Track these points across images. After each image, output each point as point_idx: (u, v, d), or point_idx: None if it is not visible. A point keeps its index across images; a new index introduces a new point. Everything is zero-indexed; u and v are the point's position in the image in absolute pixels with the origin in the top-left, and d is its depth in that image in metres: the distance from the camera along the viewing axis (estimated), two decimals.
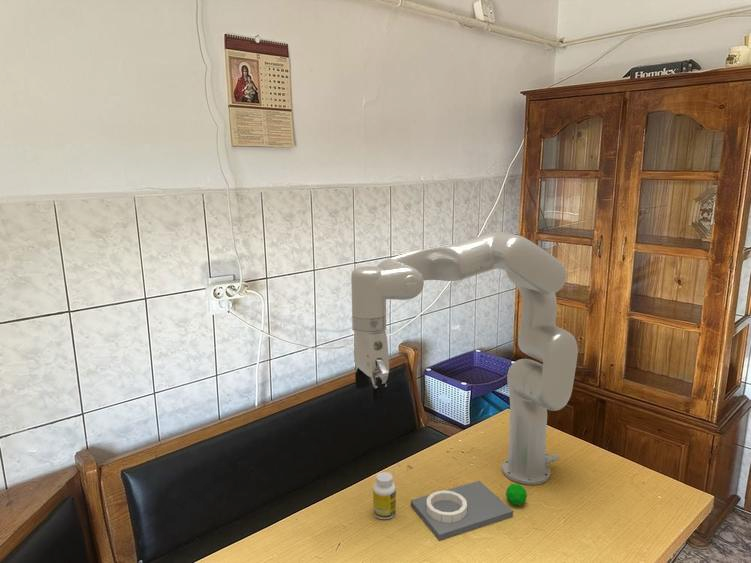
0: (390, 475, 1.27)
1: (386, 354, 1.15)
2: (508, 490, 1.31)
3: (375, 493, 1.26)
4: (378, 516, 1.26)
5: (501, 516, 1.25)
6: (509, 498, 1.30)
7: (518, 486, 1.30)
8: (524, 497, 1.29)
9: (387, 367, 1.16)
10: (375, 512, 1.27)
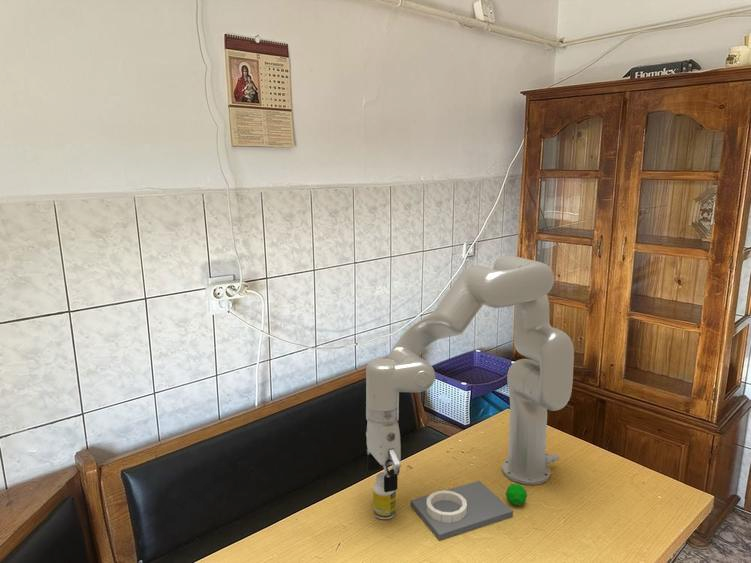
0: None
1: (398, 444, 1.21)
2: (508, 490, 1.31)
3: (375, 493, 1.26)
4: (378, 516, 1.26)
5: (501, 516, 1.25)
6: (509, 498, 1.30)
7: (518, 486, 1.30)
8: (524, 497, 1.29)
9: (399, 456, 1.21)
10: (375, 512, 1.27)
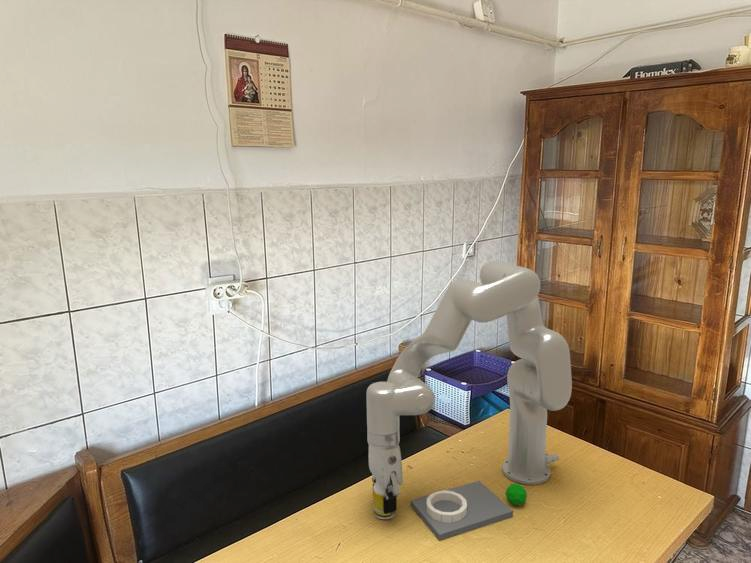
0: None
1: (400, 467, 1.22)
2: (508, 490, 1.31)
3: (375, 493, 1.26)
4: (378, 516, 1.26)
5: (501, 516, 1.25)
6: (509, 498, 1.30)
7: (518, 486, 1.31)
8: (524, 497, 1.29)
9: (401, 479, 1.23)
10: (375, 512, 1.27)
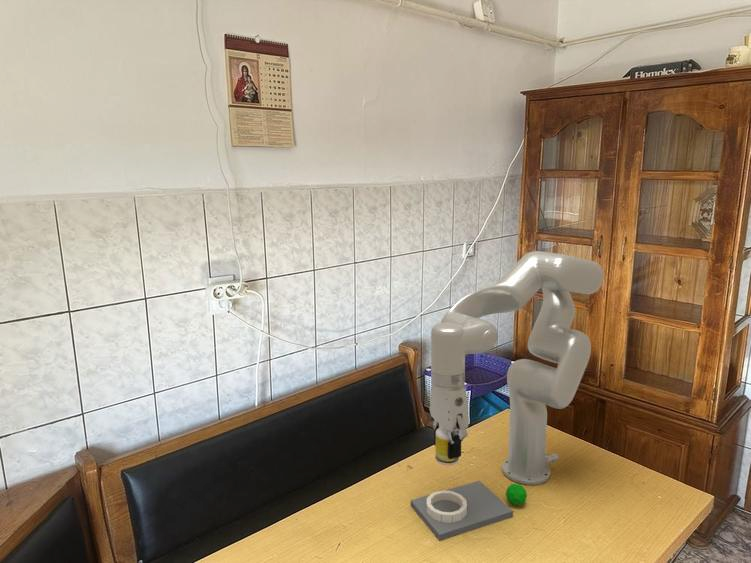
0: None
1: (466, 409, 1.18)
2: (508, 490, 1.31)
3: (438, 438, 1.22)
4: (441, 462, 1.22)
5: (501, 516, 1.25)
6: (509, 498, 1.30)
7: (518, 486, 1.31)
8: (524, 497, 1.29)
9: (467, 422, 1.19)
10: (438, 458, 1.23)
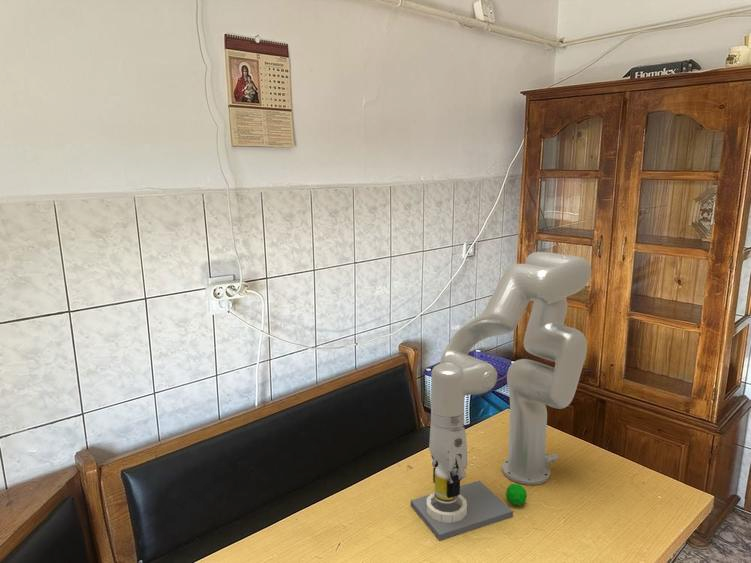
0: None
1: (465, 450, 1.20)
2: (508, 490, 1.31)
3: (438, 476, 1.24)
4: (440, 500, 1.24)
5: (501, 516, 1.25)
6: (509, 498, 1.30)
7: (518, 486, 1.30)
8: (524, 497, 1.29)
9: (466, 462, 1.20)
10: (437, 496, 1.25)
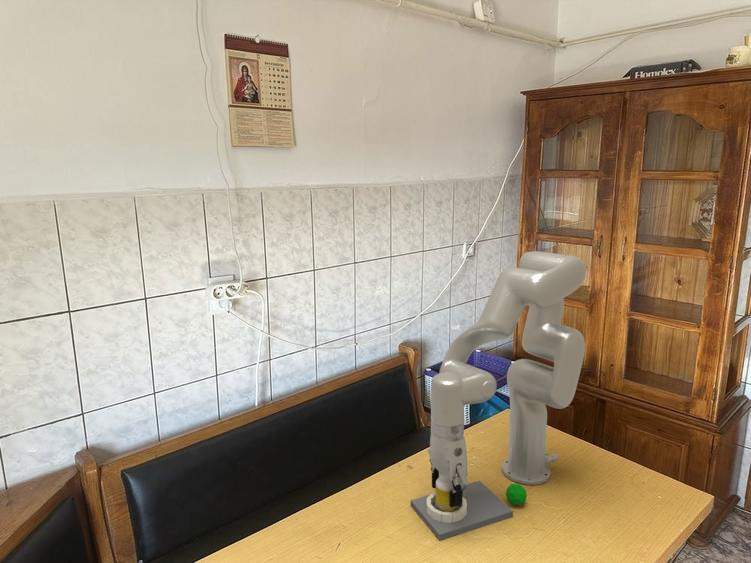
0: None
1: (465, 459, 1.20)
2: (508, 490, 1.31)
3: (439, 489, 1.24)
4: None
5: (501, 516, 1.25)
6: (509, 498, 1.30)
7: (518, 486, 1.30)
8: (524, 497, 1.29)
9: (466, 471, 1.21)
10: (438, 508, 1.26)
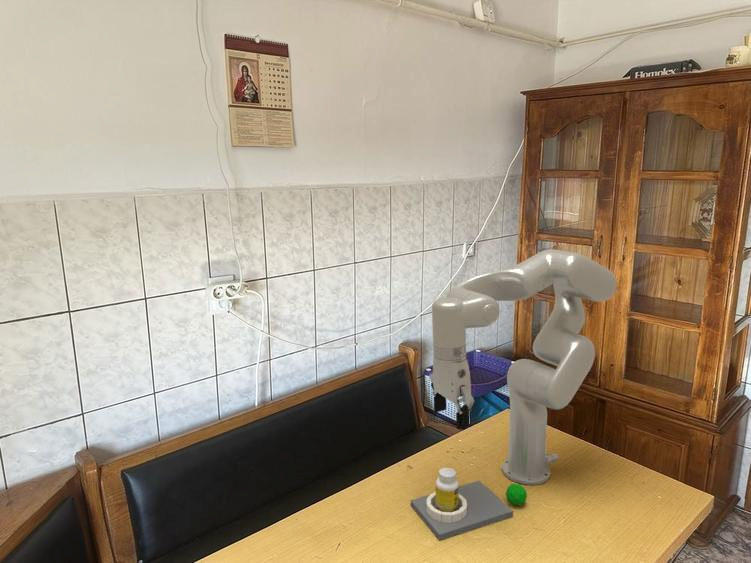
0: (453, 471, 1.26)
1: (469, 381, 1.21)
2: (508, 490, 1.31)
3: (439, 489, 1.24)
4: None
5: (501, 516, 1.25)
6: (509, 498, 1.30)
7: (518, 486, 1.30)
8: (524, 497, 1.29)
9: (470, 393, 1.22)
10: (438, 508, 1.26)
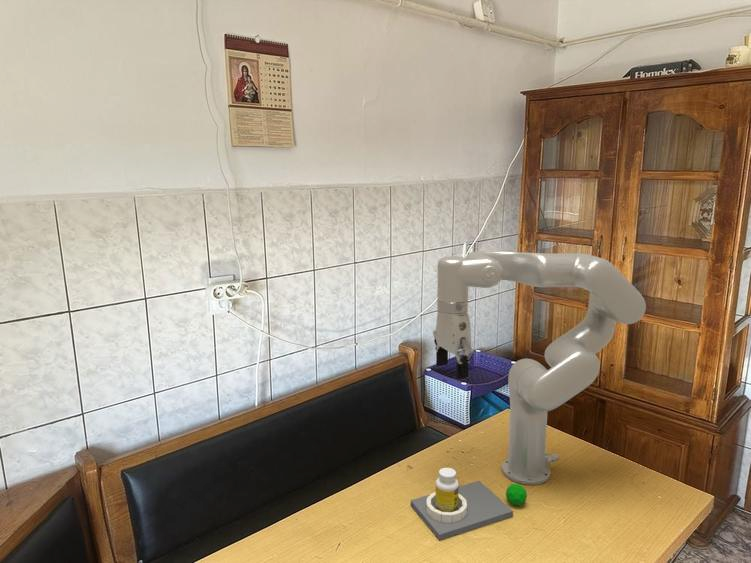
0: (453, 471, 1.26)
1: (469, 334, 1.31)
2: (508, 490, 1.31)
3: (439, 489, 1.24)
4: None
5: (501, 516, 1.25)
6: (509, 498, 1.30)
7: (518, 486, 1.30)
8: (524, 497, 1.29)
9: (470, 345, 1.31)
10: (438, 508, 1.26)
